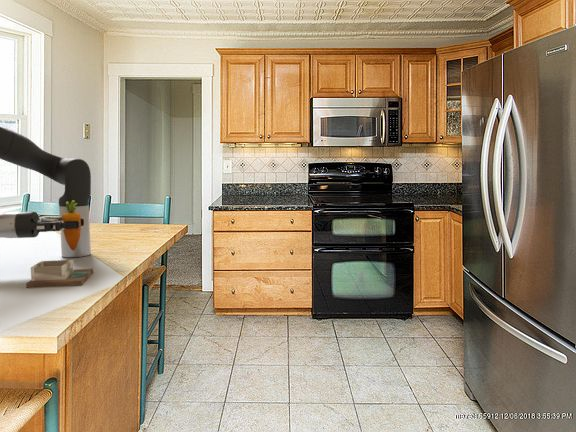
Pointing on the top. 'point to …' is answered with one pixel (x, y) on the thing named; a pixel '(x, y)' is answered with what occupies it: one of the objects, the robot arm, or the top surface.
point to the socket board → (57, 274)
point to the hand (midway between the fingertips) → (81, 223)
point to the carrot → (72, 234)
